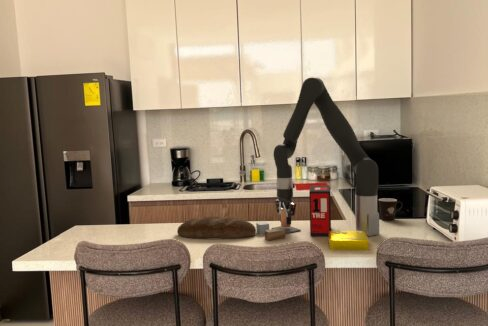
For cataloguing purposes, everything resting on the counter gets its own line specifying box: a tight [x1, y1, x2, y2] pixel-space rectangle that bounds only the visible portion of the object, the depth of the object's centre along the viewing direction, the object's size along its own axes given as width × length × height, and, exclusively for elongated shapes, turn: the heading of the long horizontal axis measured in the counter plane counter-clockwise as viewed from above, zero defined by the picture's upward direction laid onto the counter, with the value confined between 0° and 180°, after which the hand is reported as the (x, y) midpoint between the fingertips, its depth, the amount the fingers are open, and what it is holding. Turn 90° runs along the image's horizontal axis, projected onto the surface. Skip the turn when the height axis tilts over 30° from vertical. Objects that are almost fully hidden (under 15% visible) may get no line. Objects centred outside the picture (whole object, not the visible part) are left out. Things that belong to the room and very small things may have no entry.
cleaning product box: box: [308, 185, 332, 238], centre depth 187 cm, size 16×9×20 cm, turn 168°
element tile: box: [328, 229, 370, 252], centre depth 167 cm, size 15×15×5 cm
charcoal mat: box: [270, 225, 302, 235], centre depth 193 cm, size 11×9×1 cm
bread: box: [176, 216, 257, 240], centre depth 189 cm, size 16×36×8 cm, turn 81°
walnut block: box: [264, 228, 286, 242], centre depth 180 cm, size 4×8×4 cm, turn 113°
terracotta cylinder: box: [280, 209, 292, 227], centre depth 193 cm, size 4×4×8 cm
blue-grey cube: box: [255, 221, 270, 235], centre depth 190 cm, size 4×4×4 cm
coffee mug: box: [378, 197, 404, 222], centre depth 206 cm, size 12×9×10 cm
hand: (285, 223), depth 193 cm, fingers closed on terracotta cylinder, 4 cm apart
